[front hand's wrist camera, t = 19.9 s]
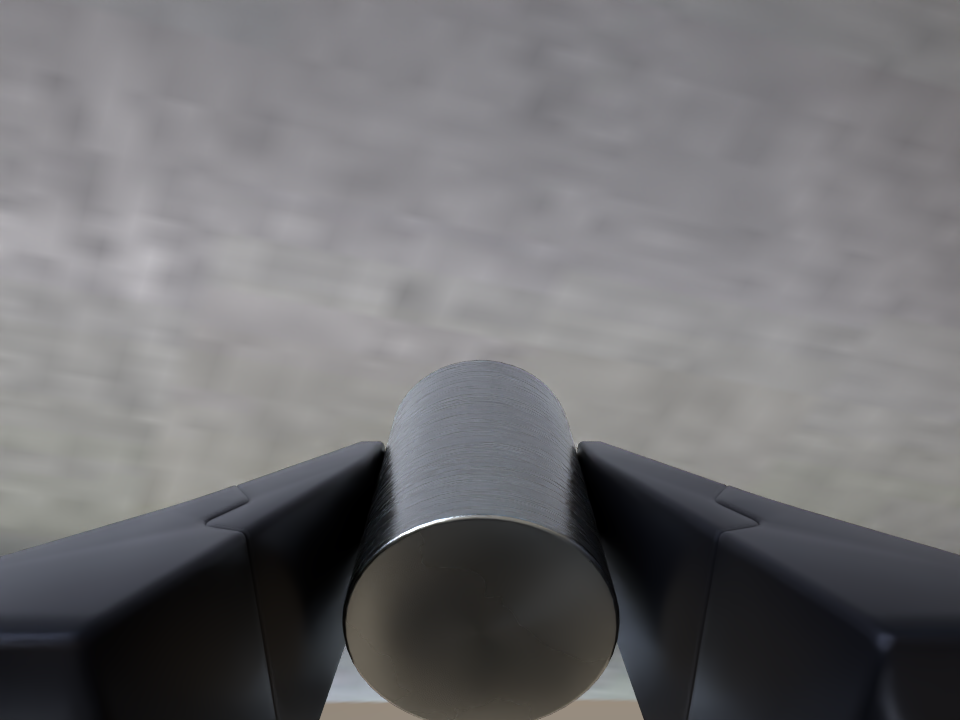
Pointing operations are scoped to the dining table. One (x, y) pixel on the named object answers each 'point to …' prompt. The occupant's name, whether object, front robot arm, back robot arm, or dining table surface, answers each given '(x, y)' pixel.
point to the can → (480, 555)
